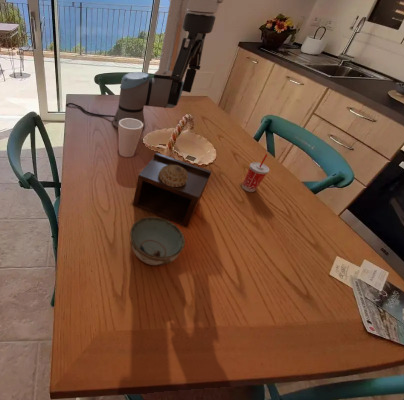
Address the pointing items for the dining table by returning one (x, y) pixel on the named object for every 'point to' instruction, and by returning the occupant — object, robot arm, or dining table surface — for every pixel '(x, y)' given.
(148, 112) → the dining table surface
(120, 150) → the foam cup
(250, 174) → the beverage cup
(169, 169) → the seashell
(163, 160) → the shelf
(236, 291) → the dining table surface
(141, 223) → the bowl
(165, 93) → the robot arm
